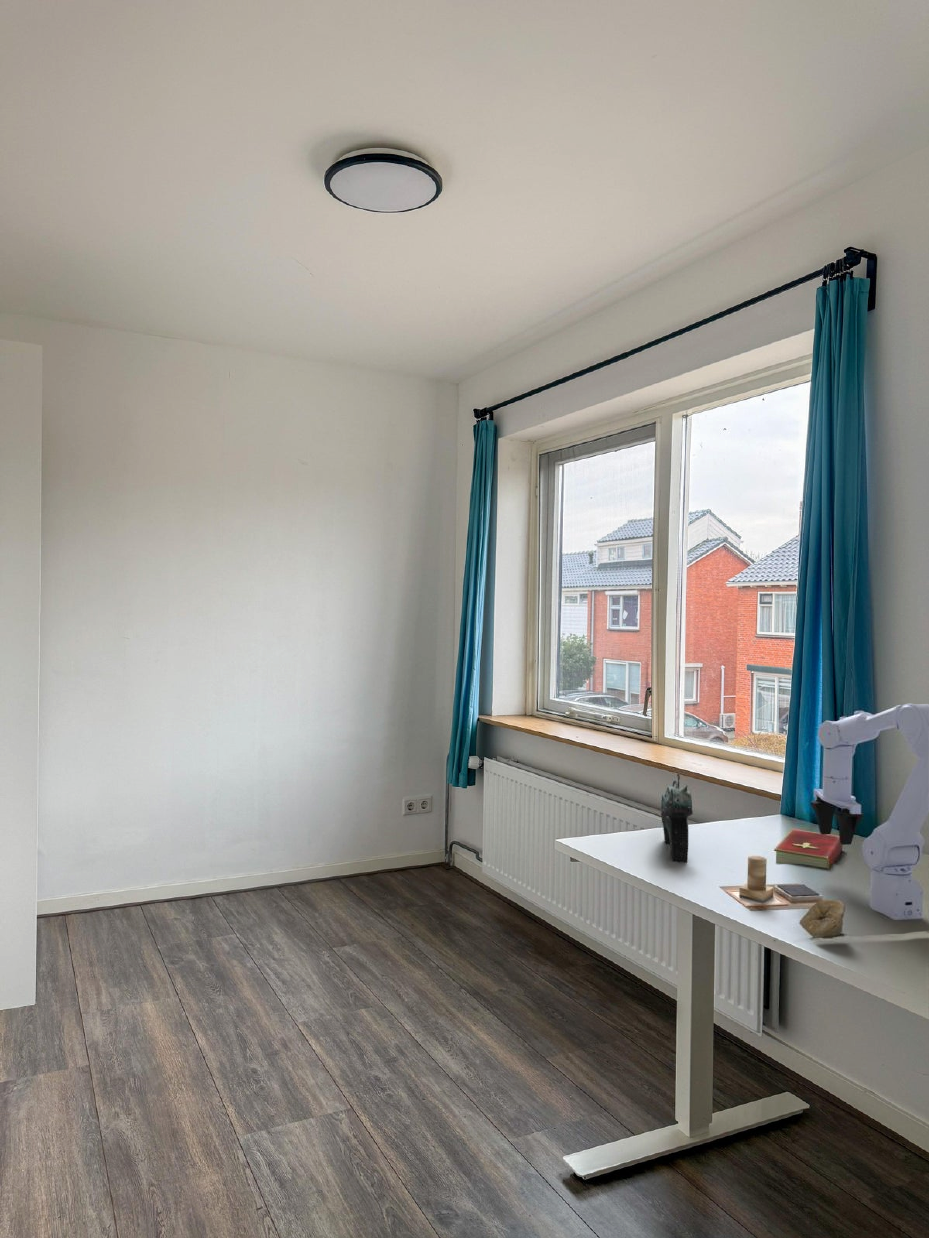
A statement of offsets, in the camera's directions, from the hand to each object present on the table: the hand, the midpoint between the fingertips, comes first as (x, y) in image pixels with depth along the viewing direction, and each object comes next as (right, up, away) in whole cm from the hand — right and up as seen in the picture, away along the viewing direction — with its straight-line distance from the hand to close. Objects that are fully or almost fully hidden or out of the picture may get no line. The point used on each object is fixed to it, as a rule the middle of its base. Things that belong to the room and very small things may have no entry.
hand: (835, 838), depth 186 cm
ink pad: (-11, -10, -9) cm, 17 cm away
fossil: (-14, -11, -27) cm, 32 cm away
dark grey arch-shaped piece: (-29, -10, +24) cm, 39 cm away
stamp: (-21, -9, -10) cm, 25 cm away
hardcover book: (+3, -11, +21) cm, 24 cm away
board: (-16, -10, -9) cm, 22 cm away
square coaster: (-21, -9, -10) cm, 25 cm away
